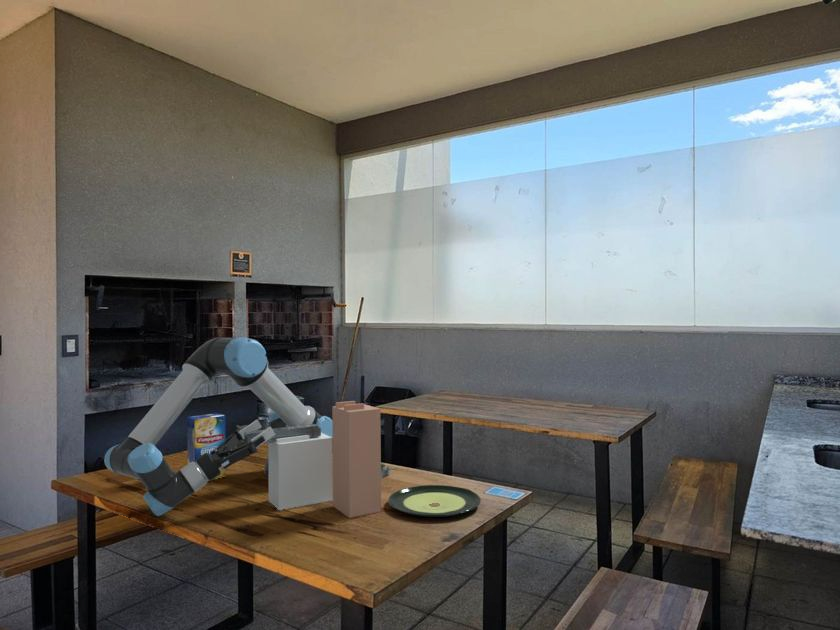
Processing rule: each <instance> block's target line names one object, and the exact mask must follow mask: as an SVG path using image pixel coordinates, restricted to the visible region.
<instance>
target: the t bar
mask: <svg viewBox="0 0 840 630" xmlns="http://www.w3.org/2000/svg"><path fill="white" fill-rule="evenodd" d="M266 429H267V428H265V429H258V430H256V431H247V432H244V444H246V443H249V442H251V440H252V439H253V438H254V437H256V436H257V435H259V434H260V433H262V432H263V431H264V430H266ZM273 431H274V433H275V434H276V435H274V436H273V437H271V438H270V439H269V440H267V441H266V442H264V443H263V444H262V445H265V444H268V443H274V442H276V439H280V438H288V437H296V436H304V435H309V438H314V437H319V436H321V428H320V427H319V426H318V425H316V424H310V425H301V426H292V427H283V428H274V429H273Z"/></svg>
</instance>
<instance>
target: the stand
mask: <svg viewBox="0 0 840 630" xmlns="http://www.w3.org/2000/svg"><path fill="white" fill-rule="evenodd" d="M331 408H332V411H331V412H332V413H331V414H332V419H331V420H332V428H333V438H332V485H333V501H332V507H334V508H335V509H336V510H338V511H340V513H342V514H343V515H345V516H346V517H348V518H349V519H352V518H357V517H362V516H366V515H371V514H376V513H381V512H382V478H381V463H382V462H381V461H382V460H381V459H382V458H381V457H382V456H381V454H382V451H381V449H382V448H381V445H382V444H381V443H382V442H381V439H382V438H381V437H382V436H381V430H382V429H381V428H382V427H381V408H378V407H376V406H373V405H372V406H371V405H368V404H366V403H357V402H356V400H350V401H349V400H348V401H340V402H339V401H337V402H335V405H333V406H332V407H331Z"/></svg>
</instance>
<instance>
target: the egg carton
mask: <svg viewBox="0 0 840 630" xmlns="http://www.w3.org/2000/svg"><path fill="white" fill-rule="evenodd" d="M391 469H393V468H392V467H391V466H390V467H389V466H385V464H384V463H382V462H381V479H383V478H384V477H390V476H391Z"/></svg>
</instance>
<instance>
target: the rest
mask: <svg viewBox="0 0 840 630" xmlns="http://www.w3.org/2000/svg"><path fill="white" fill-rule="evenodd" d="M267 444H268V447H267V448H268V455H267V458H268V469H269V477H268V502H269V504H271V503H272V504H273V505H274V506H275V507H276V508H277V509H276V508H275V507H274V508H275V509H276V510H277V511H279V510H280V511H284V510H283V509H285V510H288V509H289V508H290V509H295V508H294V507H296V508H300V506H301V507H305V506H306V507H307V506H312V505H315V504H321V503H327V502H333V438H332V437H330V436H328V435H325V434H323V433H321V436H319V437H314V438H309V435H304V436H296V437H288V438H280V439H276V442H274V443H267ZM272 504H271V505H272ZM273 505H272V506H273ZM290 509H289V510H290Z"/></svg>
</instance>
